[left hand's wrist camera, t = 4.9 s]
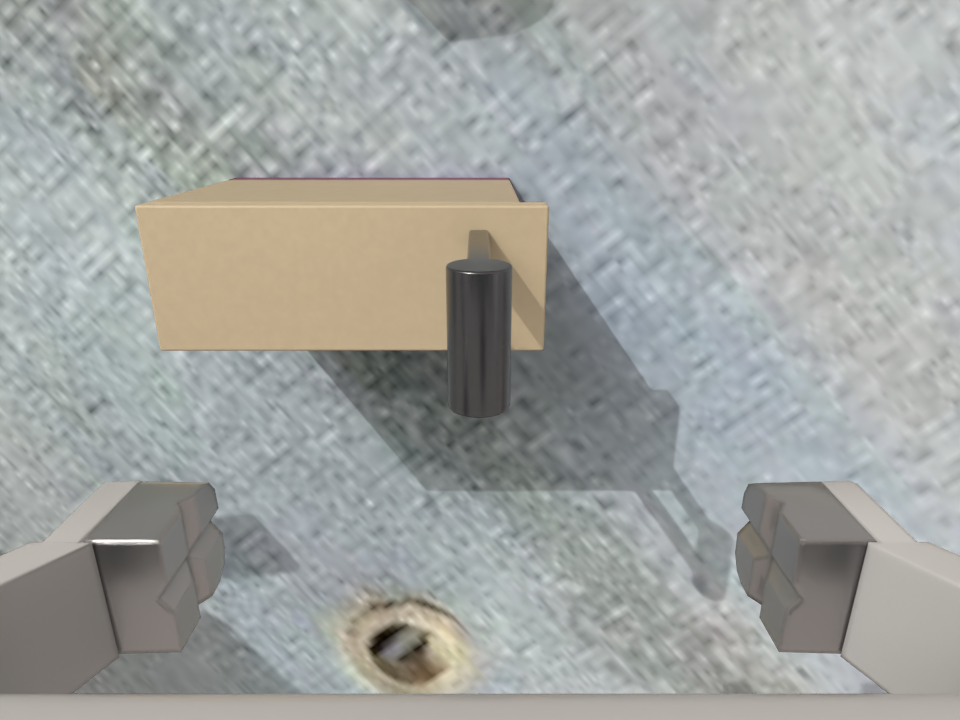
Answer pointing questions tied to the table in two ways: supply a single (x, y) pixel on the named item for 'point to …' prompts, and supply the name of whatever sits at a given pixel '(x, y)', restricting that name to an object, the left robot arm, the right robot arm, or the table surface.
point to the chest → (352, 190)
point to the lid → (355, 282)
